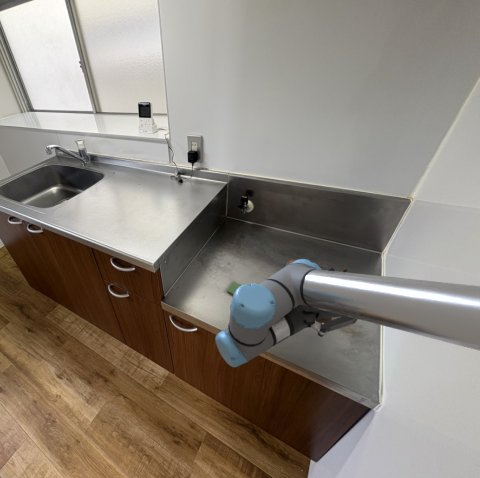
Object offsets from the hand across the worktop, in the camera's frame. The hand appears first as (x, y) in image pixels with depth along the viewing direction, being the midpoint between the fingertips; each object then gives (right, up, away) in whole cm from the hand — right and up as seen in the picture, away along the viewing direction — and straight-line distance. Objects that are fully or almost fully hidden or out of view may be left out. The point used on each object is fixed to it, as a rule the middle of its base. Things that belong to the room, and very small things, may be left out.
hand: (347, 283), depth 63 cm
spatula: (-15, -10, +25) cm, 31 cm away
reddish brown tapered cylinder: (+3, -5, +28) cm, 29 cm away
